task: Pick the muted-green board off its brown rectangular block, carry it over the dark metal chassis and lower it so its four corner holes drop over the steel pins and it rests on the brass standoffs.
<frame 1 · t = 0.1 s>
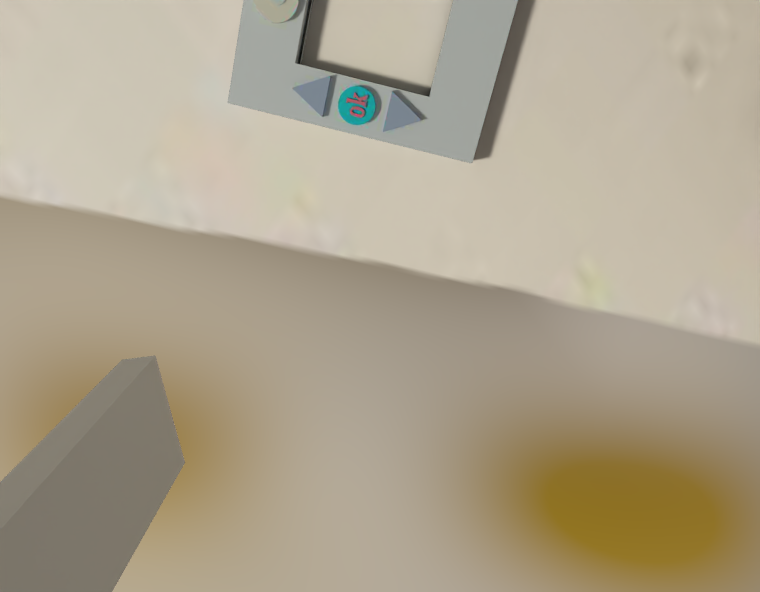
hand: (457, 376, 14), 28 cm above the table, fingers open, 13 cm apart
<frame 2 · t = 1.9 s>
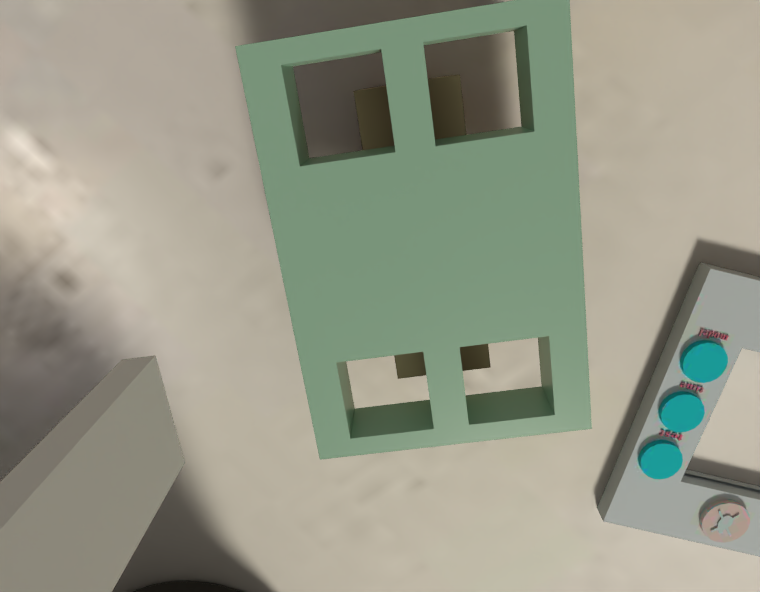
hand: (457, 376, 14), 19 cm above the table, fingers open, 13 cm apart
brown rectangular block: (421, 209, 32), on the table
board: (426, 238, 26), point 6 cm above the table, touching brown rectangular block
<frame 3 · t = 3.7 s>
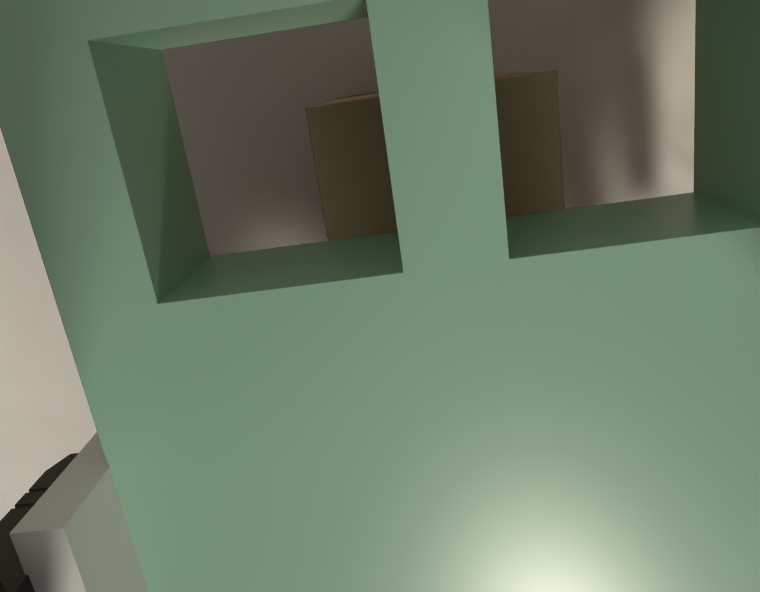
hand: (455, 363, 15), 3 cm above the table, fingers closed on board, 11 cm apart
brown rectangular block: (445, 312, 18), on the table
board: (467, 422, 12), point 6 cm above the table, touching gripper, brown rectangular block
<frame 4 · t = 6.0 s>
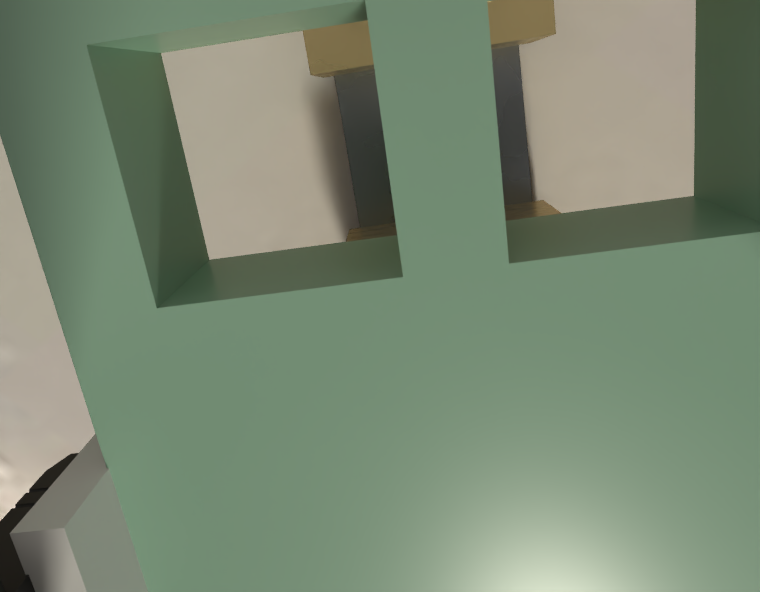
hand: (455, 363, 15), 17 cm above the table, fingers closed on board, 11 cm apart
chassis: (434, 138, 30), on the table
board: (466, 426, 12), point 20 cm above the table, touching gripper
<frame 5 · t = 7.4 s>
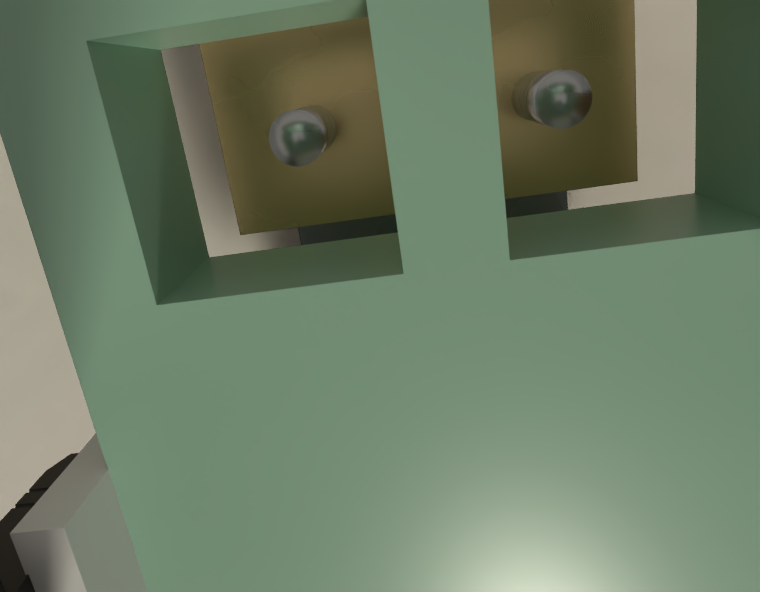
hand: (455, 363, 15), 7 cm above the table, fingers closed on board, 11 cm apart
chassis: (438, 279, 21), on the table
board: (467, 424, 12), point 9 cm above the table, touching gripper
when the fingers open (4 cm above the table, at t = 8.4 s): board drops 1 cm, resting on chassis.
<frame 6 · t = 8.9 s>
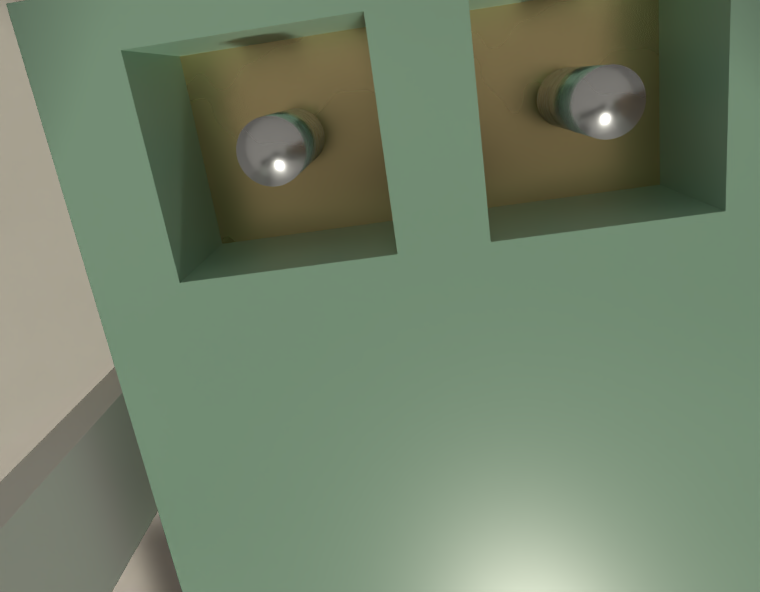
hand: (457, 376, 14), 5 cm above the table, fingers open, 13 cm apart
chassis: (444, 304, 18), on the table
board: (456, 396, 13), point 5 cm above the table, touching chassis
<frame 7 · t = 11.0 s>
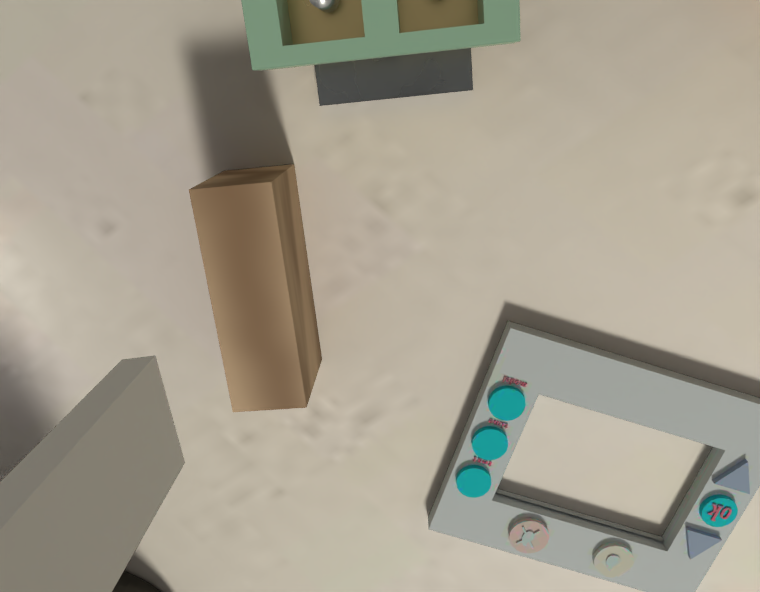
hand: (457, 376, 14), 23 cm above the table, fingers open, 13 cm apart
brown rectangular block: (275, 269, 38), on the table
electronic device: (597, 457, 42), on the table
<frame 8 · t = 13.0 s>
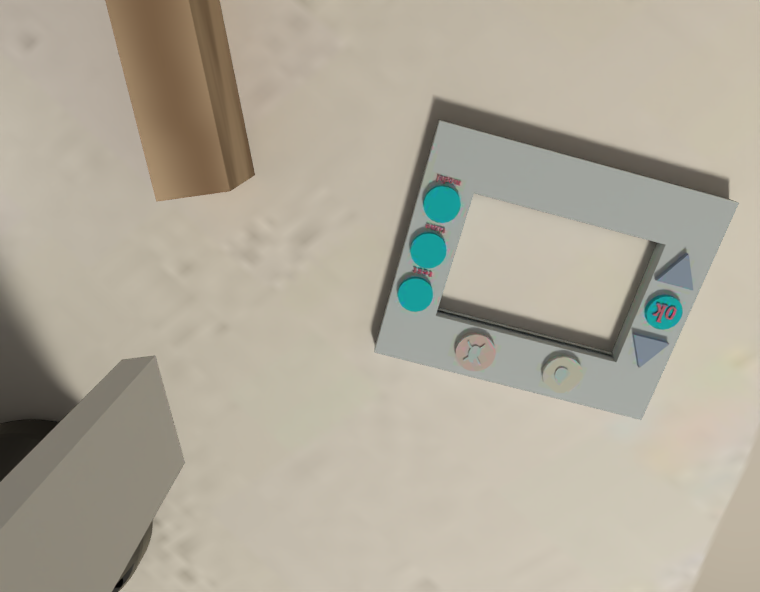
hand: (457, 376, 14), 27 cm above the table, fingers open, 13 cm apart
brown rectangular block: (200, 77, 38), on the table
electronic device: (541, 271, 42), on the table
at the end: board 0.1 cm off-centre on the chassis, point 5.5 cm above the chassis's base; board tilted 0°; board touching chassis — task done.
